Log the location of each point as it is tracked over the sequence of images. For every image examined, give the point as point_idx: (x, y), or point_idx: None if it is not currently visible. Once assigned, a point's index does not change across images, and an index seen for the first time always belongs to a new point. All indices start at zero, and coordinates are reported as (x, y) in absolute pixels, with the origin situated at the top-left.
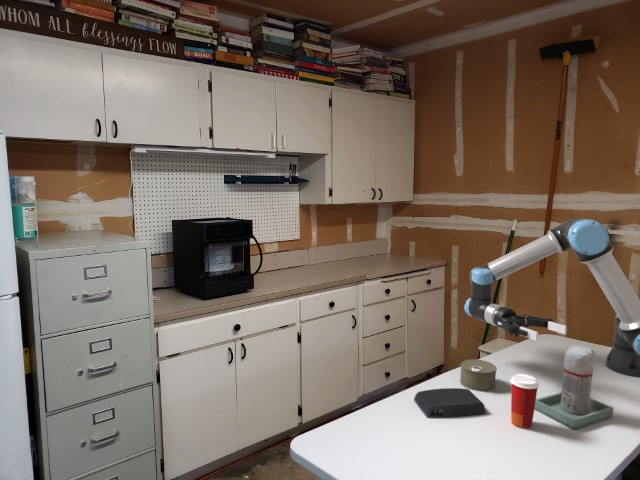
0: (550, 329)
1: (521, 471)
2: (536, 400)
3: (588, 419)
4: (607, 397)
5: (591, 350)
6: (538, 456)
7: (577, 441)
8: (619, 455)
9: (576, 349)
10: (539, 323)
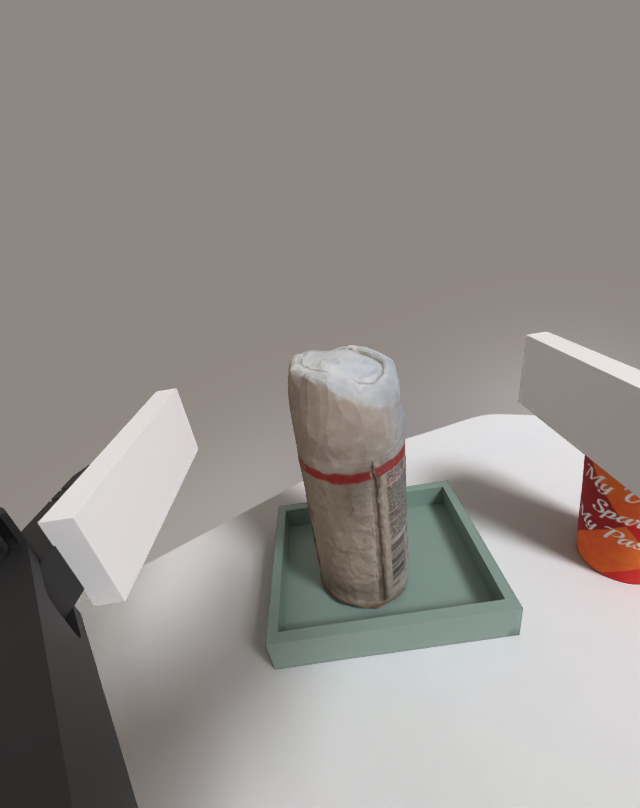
0: (140, 561)
1: None
2: (511, 599)
3: None
4: (147, 626)
5: (307, 351)
6: None
7: (471, 471)
8: (415, 437)
9: (348, 363)
10: (79, 694)
